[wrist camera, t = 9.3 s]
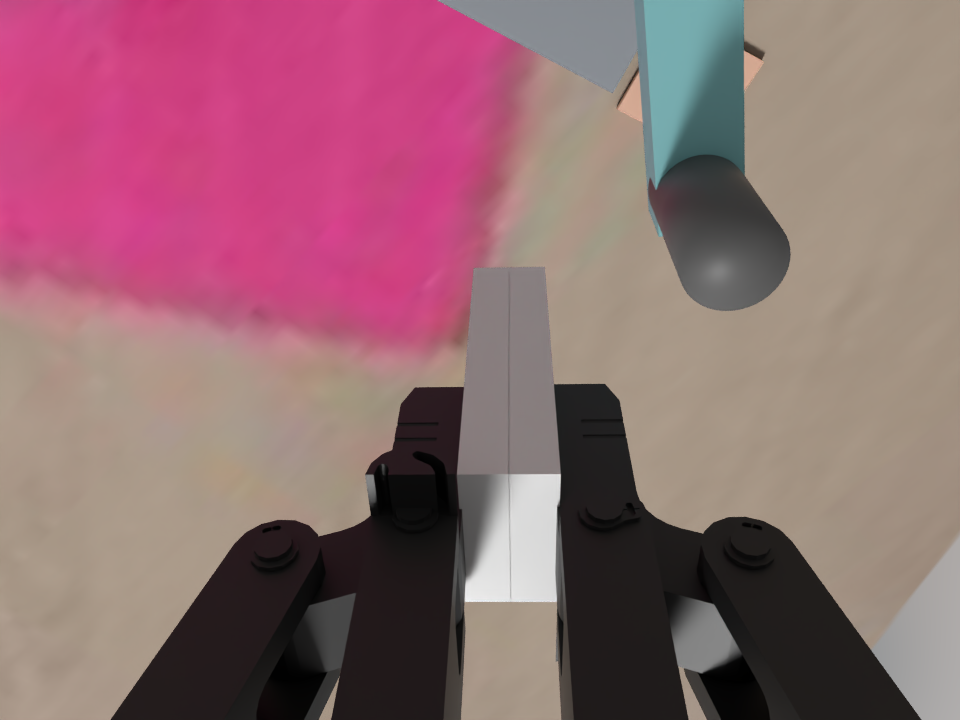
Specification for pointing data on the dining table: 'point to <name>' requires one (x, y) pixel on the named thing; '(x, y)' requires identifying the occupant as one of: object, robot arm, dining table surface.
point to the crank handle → (704, 153)
